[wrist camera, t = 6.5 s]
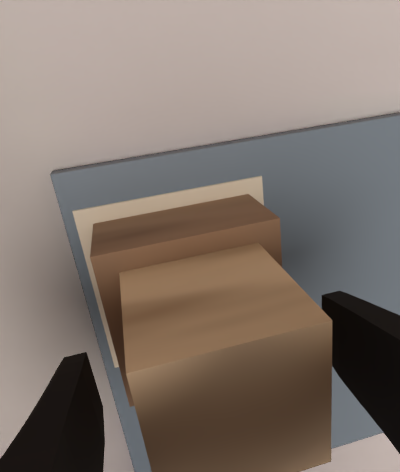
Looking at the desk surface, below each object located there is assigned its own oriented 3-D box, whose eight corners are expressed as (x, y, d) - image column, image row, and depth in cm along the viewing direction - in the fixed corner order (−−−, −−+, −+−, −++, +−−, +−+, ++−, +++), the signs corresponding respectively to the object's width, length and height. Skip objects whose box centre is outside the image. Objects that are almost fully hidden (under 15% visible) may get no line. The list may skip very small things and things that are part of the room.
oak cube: (266, 352, 14) (331, 461, 10) (146, 384, 13) (162, 515, 9) (258, 242, 12) (332, 320, 8) (119, 272, 12) (126, 373, 8)
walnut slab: (258, 320, 17) (286, 364, 15) (125, 353, 16) (129, 406, 14) (248, 193, 15) (279, 218, 12) (93, 223, 14) (89, 257, 11)
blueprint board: (390, 420, 23) (398, 429, 23) (143, 495, 21) (145, 509, 20) (420, 109, 16) (433, 110, 15) (52, 171, 14) (49, 175, 13)
